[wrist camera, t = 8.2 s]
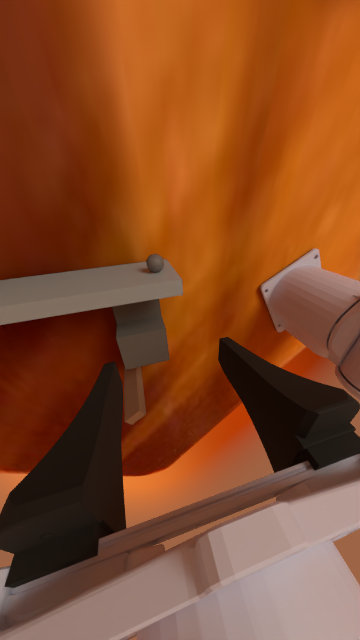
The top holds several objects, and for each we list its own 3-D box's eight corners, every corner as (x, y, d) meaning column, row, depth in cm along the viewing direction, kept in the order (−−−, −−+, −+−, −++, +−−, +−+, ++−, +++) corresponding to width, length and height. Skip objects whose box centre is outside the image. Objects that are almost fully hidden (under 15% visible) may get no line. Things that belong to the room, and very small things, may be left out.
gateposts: (-125, 222, 13) (-346, 240, 7) (-109, 201, 13) (-326, 199, 6) (129, 371, 26) (132, 424, 20) (140, 363, 25) (146, 414, 19)
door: (7, 293, 17) (-42, 331, 12) (-11, 264, 15) (-75, 293, 10) (167, 271, 19) (182, 294, 14) (164, 244, 18) (181, 259, 13)
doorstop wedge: (107, 277, 19) (103, 297, 15) (152, 270, 20) (160, 288, 15) (125, 340, 23) (125, 369, 19) (161, 332, 24) (169, 359, 20)
